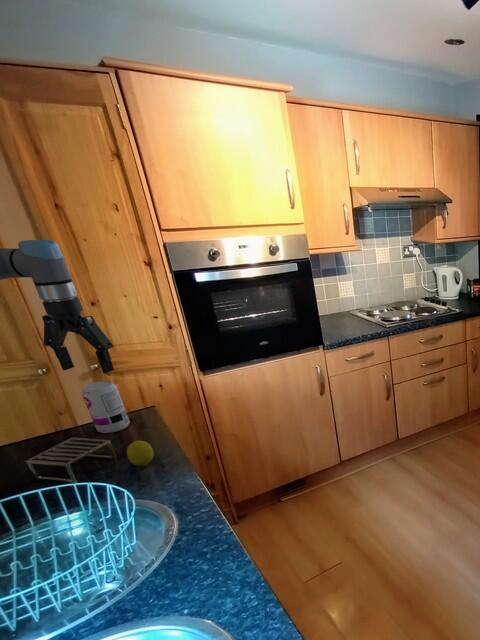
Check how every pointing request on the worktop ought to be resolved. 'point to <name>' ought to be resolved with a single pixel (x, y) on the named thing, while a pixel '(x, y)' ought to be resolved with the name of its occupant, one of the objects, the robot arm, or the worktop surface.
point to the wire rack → (78, 455)
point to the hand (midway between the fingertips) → (88, 370)
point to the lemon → (140, 453)
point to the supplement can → (105, 406)
